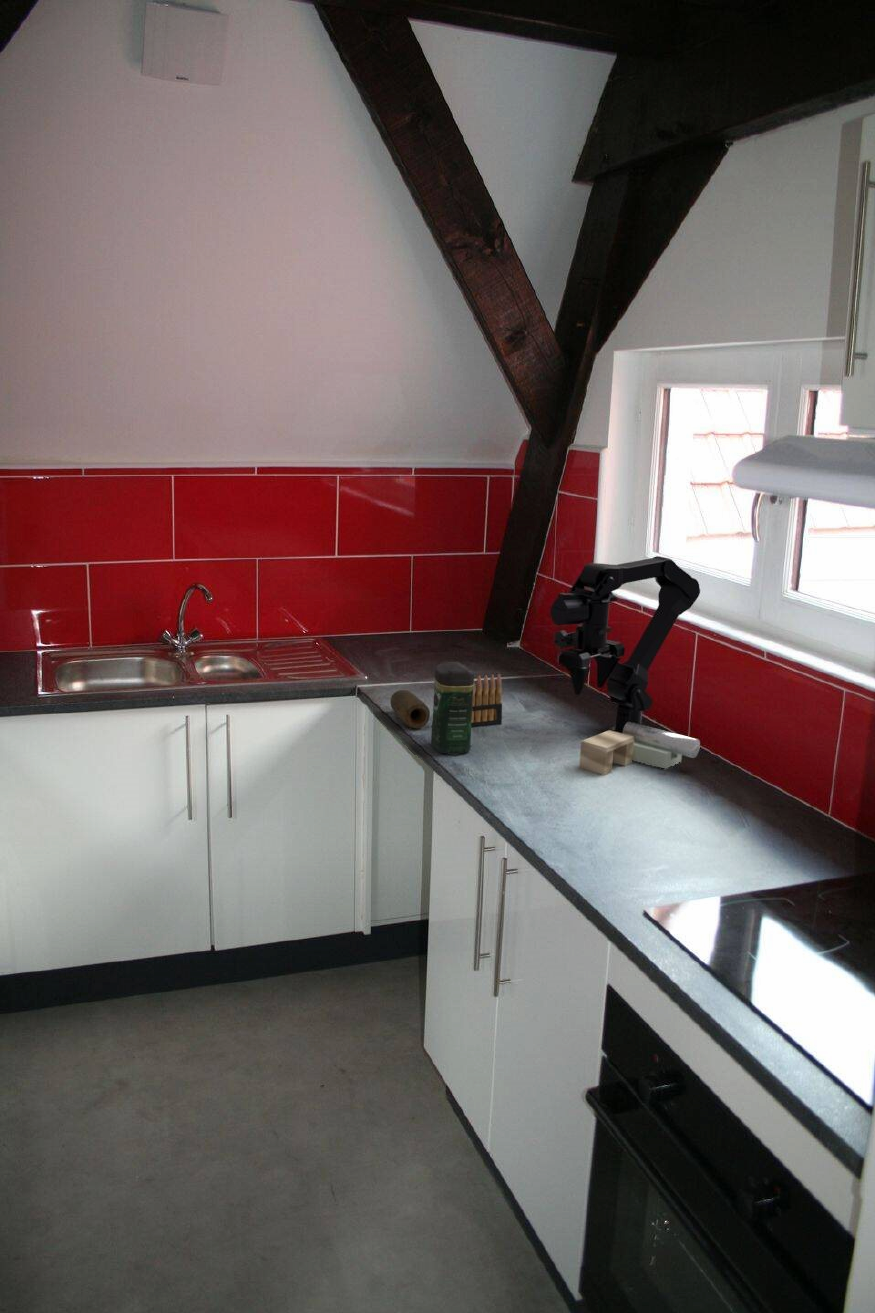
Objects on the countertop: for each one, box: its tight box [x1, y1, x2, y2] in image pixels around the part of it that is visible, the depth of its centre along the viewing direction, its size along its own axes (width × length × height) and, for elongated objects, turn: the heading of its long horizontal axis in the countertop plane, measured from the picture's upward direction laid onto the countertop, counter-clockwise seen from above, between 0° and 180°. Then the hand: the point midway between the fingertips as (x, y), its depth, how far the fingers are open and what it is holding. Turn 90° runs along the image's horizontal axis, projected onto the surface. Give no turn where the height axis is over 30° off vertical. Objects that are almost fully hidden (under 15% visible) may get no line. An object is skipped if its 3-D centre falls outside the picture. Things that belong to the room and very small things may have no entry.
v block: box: [632, 742, 683, 769], centre depth 233 cm, size 7×10×4 cm
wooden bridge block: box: [578, 729, 634, 776], centre depth 228 cm, size 11×6×6 cm, turn 140°
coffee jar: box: [430, 661, 475, 755], centre depth 233 cm, size 10×8×19 cm
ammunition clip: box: [471, 673, 503, 729], centre depth 251 cm, size 11×2×12 cm, turn 117°
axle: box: [623, 722, 701, 759], centre depth 232 cm, size 16×4×4 cm, turn 50°
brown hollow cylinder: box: [389, 689, 431, 729], centre depth 252 cm, size 15×7×7 cm, turn 21°
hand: (588, 691), depth 244 cm, fingers open, 9 cm apart
